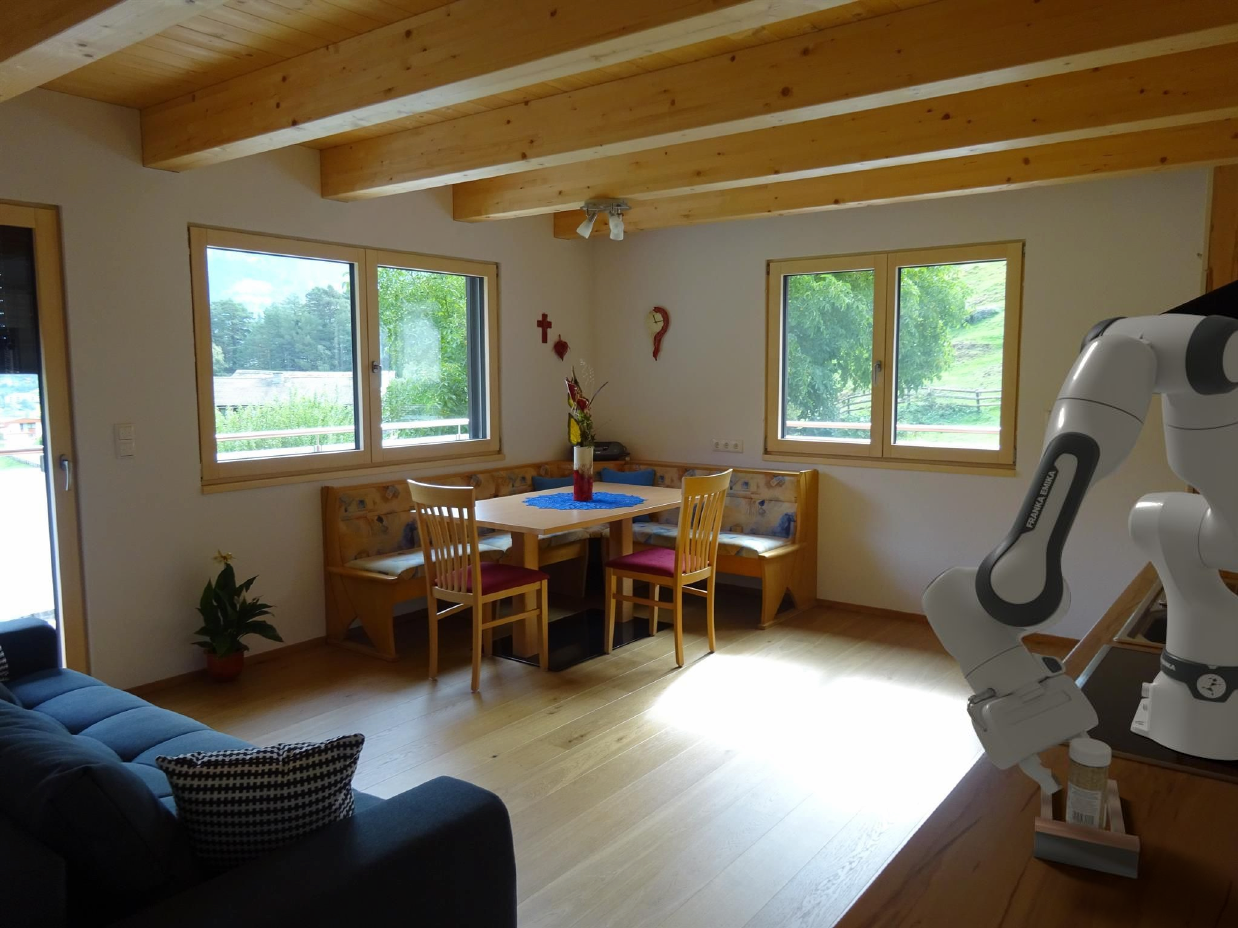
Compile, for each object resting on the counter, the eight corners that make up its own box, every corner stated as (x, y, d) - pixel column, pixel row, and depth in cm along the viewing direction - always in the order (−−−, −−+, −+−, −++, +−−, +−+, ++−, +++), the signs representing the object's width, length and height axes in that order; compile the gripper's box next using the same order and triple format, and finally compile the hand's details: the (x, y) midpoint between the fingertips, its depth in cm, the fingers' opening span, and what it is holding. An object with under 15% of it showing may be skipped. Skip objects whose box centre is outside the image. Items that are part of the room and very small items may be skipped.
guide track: (1034, 779, 131) (1036, 751, 131) (1122, 795, 127) (1124, 766, 126) (1033, 856, 111) (1035, 824, 111) (1137, 878, 107) (1140, 845, 106)
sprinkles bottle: (1110, 849, 113) (1119, 745, 111) (1091, 861, 110) (1099, 755, 109) (1074, 833, 117) (1082, 732, 115) (1055, 844, 114) (1062, 741, 112)
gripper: (977, 687, 112) (1049, 794, 106) (1066, 655, 124) (1135, 749, 117) (944, 710, 116) (1011, 814, 110) (1033, 677, 128) (1098, 769, 121)
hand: (1076, 780), depth 114 cm, fingers open, 8 cm apart
